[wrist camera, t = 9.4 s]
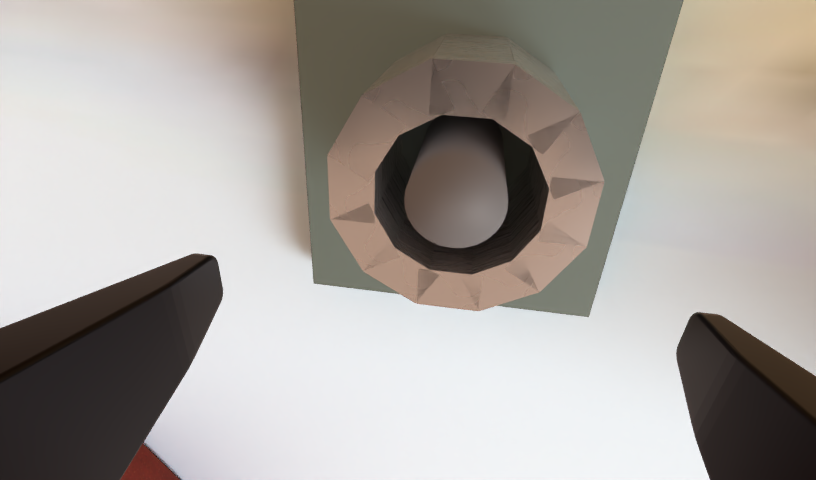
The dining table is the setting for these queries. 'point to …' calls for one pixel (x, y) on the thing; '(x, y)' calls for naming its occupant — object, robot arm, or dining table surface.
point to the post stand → (480, 137)
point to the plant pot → (147, 467)
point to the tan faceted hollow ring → (527, 196)
